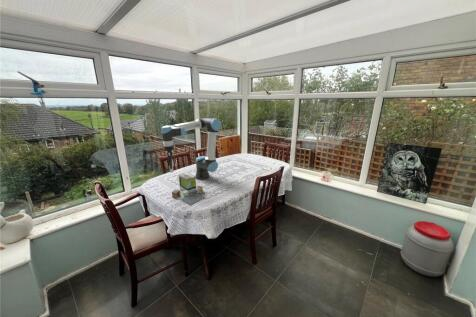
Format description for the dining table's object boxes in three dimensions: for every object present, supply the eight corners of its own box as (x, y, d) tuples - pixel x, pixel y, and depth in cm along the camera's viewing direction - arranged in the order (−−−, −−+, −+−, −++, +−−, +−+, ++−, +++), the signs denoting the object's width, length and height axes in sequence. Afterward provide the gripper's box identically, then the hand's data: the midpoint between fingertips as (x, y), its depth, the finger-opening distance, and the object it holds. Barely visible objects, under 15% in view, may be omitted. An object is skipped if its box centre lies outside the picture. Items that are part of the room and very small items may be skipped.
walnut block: (175, 194, 168) (175, 189, 167) (180, 195, 167) (179, 190, 165) (172, 196, 164) (171, 191, 162) (176, 197, 162) (176, 192, 161)
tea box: (197, 190, 175) (195, 176, 170) (187, 194, 168) (186, 179, 163) (189, 185, 185) (187, 171, 180) (179, 188, 178) (178, 174, 174)
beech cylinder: (200, 190, 175) (200, 184, 173) (204, 192, 172) (203, 186, 170) (196, 192, 171) (195, 186, 169) (199, 194, 168) (199, 188, 166)
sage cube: (187, 193, 169) (186, 190, 168) (188, 195, 166) (188, 191, 164) (182, 195, 167) (182, 191, 165) (184, 197, 164) (183, 193, 162)
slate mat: (195, 192, 171) (195, 191, 171) (205, 197, 163) (205, 197, 162) (180, 199, 160) (180, 198, 159) (190, 205, 151) (190, 204, 151)
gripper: (164, 142, 161) (167, 164, 168) (162, 150, 139) (166, 175, 146) (173, 141, 163) (176, 163, 170) (173, 149, 141) (176, 174, 148)
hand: (172, 169), depth 158 cm, fingers open, 13 cm apart
